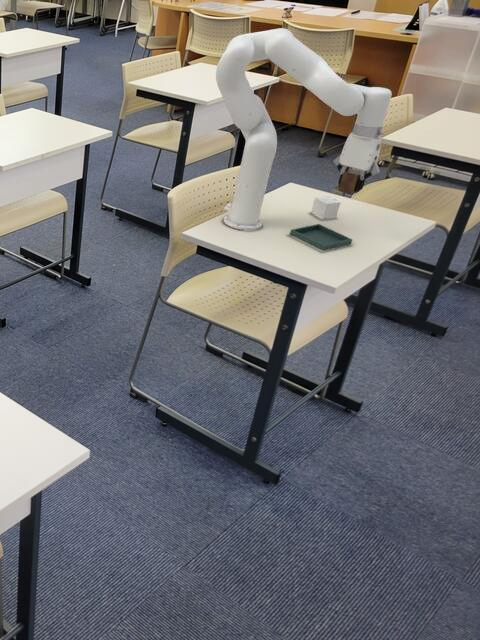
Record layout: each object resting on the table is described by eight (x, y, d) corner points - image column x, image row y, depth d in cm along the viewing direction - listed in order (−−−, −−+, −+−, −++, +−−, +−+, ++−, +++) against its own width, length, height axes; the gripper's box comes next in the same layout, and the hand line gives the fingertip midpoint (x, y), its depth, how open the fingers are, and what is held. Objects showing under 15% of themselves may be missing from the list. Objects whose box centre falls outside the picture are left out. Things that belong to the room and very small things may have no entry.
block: (338, 191, 223) (343, 171, 219) (345, 188, 225) (350, 168, 222) (351, 195, 220) (357, 175, 216) (358, 192, 222) (364, 172, 219)
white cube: (310, 213, 248) (314, 197, 244) (324, 212, 249) (328, 196, 246) (321, 220, 243) (326, 203, 240) (335, 218, 245) (340, 202, 241)
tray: (288, 235, 231) (290, 229, 229) (316, 229, 235) (318, 223, 234) (321, 252, 220) (323, 245, 219) (350, 245, 225) (352, 239, 224)
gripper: (400, 135, 209) (381, 193, 219) (346, 123, 219) (330, 179, 229) (388, 139, 204) (369, 198, 214) (334, 126, 215) (318, 184, 225)
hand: (349, 188), depth 222 cm, fingers closed on block, 4 cm apart
